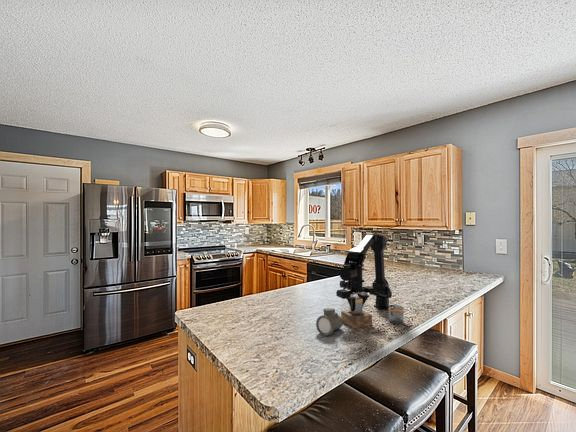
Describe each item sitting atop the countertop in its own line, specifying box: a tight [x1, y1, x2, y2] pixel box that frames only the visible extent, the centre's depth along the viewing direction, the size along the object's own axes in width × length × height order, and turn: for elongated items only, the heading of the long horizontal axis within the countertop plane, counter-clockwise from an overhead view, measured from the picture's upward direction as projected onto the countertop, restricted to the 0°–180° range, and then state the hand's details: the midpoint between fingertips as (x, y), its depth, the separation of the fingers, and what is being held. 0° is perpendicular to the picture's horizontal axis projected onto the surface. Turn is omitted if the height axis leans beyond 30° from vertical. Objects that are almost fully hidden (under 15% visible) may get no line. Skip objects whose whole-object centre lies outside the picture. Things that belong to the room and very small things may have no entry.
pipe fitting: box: [315, 307, 344, 337], centre depth 120 cm, size 12×8×10 cm
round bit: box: [388, 304, 405, 326], centre depth 131 cm, size 7×7×7 cm
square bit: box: [349, 295, 364, 316], centre depth 130 cm, size 4×4×9 cm
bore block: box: [340, 309, 373, 329], centre depth 130 cm, size 10×10×4 cm
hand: (356, 310), depth 130 cm, fingers closed on square bit, 4 cm apart
